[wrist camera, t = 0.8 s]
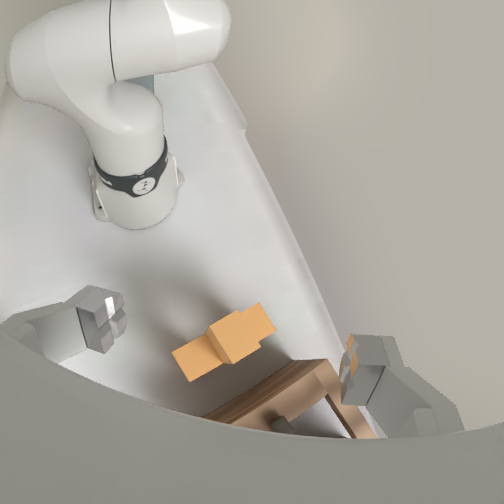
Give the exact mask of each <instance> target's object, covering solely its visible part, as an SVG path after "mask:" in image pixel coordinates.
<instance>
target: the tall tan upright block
mask: <svg viewBox="0 0 504 504" xmlns="http://www.w3.org/2000/svg"><path fill="white" fill-rule="evenodd" d="M275 331H276V329H275V327H274V326H273V324H272V323H271V321H270V319H269V318H268V316H267V315H266V313H265V311H264V310H263V308H262V307H261V305H260V303H257V304H255V305H254V306H252V307H250V308H249V309H247V310H245V311H244V312H242V313H240V312H239V310H236V311H234V312H233V313H231V314H229V315H227V316H226V317H224V318H222V319H220V320H219V321H217V322H215V323H213V324H212V325H210V326H209V327H208V329H207V331H206V333H205V334H204V335H202V336H200V337H198V338H197V339H195V340H193V341H191V342H189V343H188V344H186V345H184V346H182V347H180V348H178V349H177V350H175V351H173V352H172V354H173V356H174V358H175V359H176V361H177V363H178V364H179V366H180V368H181V369H182V371H183V372H184V374H185V376H186V377H187V379H188V380H189V382H191V381H193V380H195V379H197V378H198V377H200V376H202V375H204V374H205V373H207V372H209V371H211V370H212V369H214V368H216V367H218V366H219V365H221V364H223V363H226V364H234V363H236V362H238V361H239V360H241V359H243V358H244V357H246V356H247V355H249V354H251V353H252V352H254V351H255V350H257V349H259V348H260V347H261V346H260V344H259V341H260V340H262V339H264V338H265V337H267V336H268V335H270V334H271V333H273V332H275Z"/></svg>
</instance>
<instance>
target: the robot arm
mask: <svg viewBox="0 0 504 504" xmlns="http://www.w3.org/2000/svg"><path fill="white" fill-rule="evenodd" d="M231 30H232V18H231V13H230V10H229V8H228V5H227V4H226V2H225V1H224V0H85V1H81V2H78V3H74V4H71V5H67V6H64V7H61V8H58V9H55V10H53V11H51V12H49V13H47V14H45V15H44V16H42V17H40V18H38V19H36V20H35V21H33V22H31V23H30V24H28V25H27V26H25V27H24V28H22V29H21V30H19V31H18V32H17V33H16V35H15V36H14V38H13V40H12V42H11V44H10V46H9V48H8V51H7V55H6V61H5V74H6V79H7V82H8V84H9V86H10V88H11V90H12V91H13V92H14V93H15V94H16V95H17V96H18V97H19V98H20V99H22V100H24V101H26V102H34V103H39V104H43V105H47V106H49V107H52V108H54V109H56V110H58V111H60V112H62V113H64V114H65V115H67V116H68V117H69V118H71V119H72V120H73V121H74V122H76V123H77V124H78V125H79V126H80V128H81V129H82V130H83V132H84V133H85V135H86V137H87V139H88V142H89V144H90V146H91V149H92V151H93V154H94V155H93V157H92V158H91V160H90V166H89V167H88V173H89V177H90V178H91V183H92V194H93V203H94V211H95V216H96V218H97V219H99V220H103V221H111V222H114V223H116V224H117V225H119V226H121V227H124V228H128V229H143V228H147V227H150V226H153V225H155V224H157V223H158V222H160V221H161V220H163V219H164V218H165V217H166V216H167V215H168V214H169V212H170V211H171V210H172V208H173V206H174V204H175V200H176V195H177V191H178V189H179V187H180V186H181V185H182V183H183V181H184V176H183V174H182V172H181V171H180V170H179V169H178V168H177V167H176V161H175V157H174V156H172V155H171V154H170V153H169V152H168V145H167V141H166V137H165V135H164V123H163V107H162V104H161V102H160V101H159V99H158V98H157V97H156V96H155V95H154V94H153V93H152V92H151V91H150V90H149V89H147V88H145V87H143V86H141V85H138V84H134V83H130V82H126V81H123V80H127V79H132V78H137V77H143V76H149V75H155V74H162V73H169V72H176V71H179V70H183V69H186V68H190V67H194V66H197V65H201V64H205V63H208V62H212V61H213V60H214V59H215V58H216V57H218V55H219V54H220V53H221V52H222V51H223V49H224V48H225V46H226V44H227V42H228V40H229V37H230V34H231ZM99 207H102V208H101V209H99ZM123 305H124V301H123V296H122V295H121V294H120V293H117V292H113V291H109V290H106V289H102V288H99V287H95V286H91V285H87V286H86V287H85V288H83V289H82V290H80V291H79V292H78V293H76V294H75V295H74V296H72V297H71V298H70V299H68V300H67V301H66V302H64V303H62V302H60V303H56V304H52V305H48V306H44V307H40V308H36V309H33V310H29V311H25V312H21V313H17V314H14V315H12V316H11V317H9V318H8V319H7V320H6V321H4V322H3V323H2V324H0V504H504V422H502V423H498V424H494V425H489V426H485V427H480V428H475V429H470V430H465V429H464V426H463V423H462V421H461V418H460V415H459V413H458V410H457V408H456V405H455V404H454V403H453V402H451V401H450V400H449V399H448V398H446V397H445V396H444V395H443V394H442V393H440V392H439V391H438V390H437V389H435V388H434V387H433V386H432V385H430V384H429V383H428V382H427V381H425V380H424V379H423V378H422V377H420V376H419V375H418V374H417V373H415V372H414V371H413V370H412V369H410V368H409V367H405V366H404V363H403V360H402V358H401V355H400V352H399V349H398V346H397V344H396V341H395V338H394V337H392V336H373V335H360V334H350V336H349V338H348V341H347V350H348V351H346V352H345V353H344V354H343V356H342V359H341V364H340V369H339V379H340V381H341V382H342V383H343V384H342V387H341V389H340V393H341V404H343V405H355V406H366V409H367V410H368V411H369V413H370V414H371V415H372V416H373V418H374V419H375V421H376V422H377V423H378V425H379V426H380V427H381V428H382V430H383V431H384V432H385V434H386V435H387V436H388V438H387V439H386V438H385V439H383V438H382V439H350V438H326V437H312V436H301V435H292V434H284V433H276V432H269V431H263V430H257V429H251V428H245V427H240V426H235V425H230V424H225V423H221V422H216V421H212V420H208V419H204V418H200V417H196V416H192V415H188V414H185V413H181V412H178V411H174V410H171V409H168V408H164V407H161V406H158V405H155V404H152V403H149V402H146V401H143V400H140V399H137V398H135V397H132V396H129V395H126V394H124V393H121V392H119V391H116V390H114V389H111V388H109V387H106V386H104V385H101V384H99V383H97V382H94V381H92V380H90V379H88V378H86V377H83V376H81V375H79V374H77V373H75V372H73V371H71V370H69V369H67V368H65V367H63V366H61V365H59V364H57V363H59V362H61V361H63V360H65V359H67V358H69V357H71V356H73V355H76V354H78V353H80V352H82V351H84V350H86V349H87V348H89V349H92V350H95V351H98V352H101V353H103V354H105V353H106V352H107V351H108V350H109V348H110V347H111V346H112V345H113V344H114V339H115V338H118V337H120V336H121V335H122V334H123V333H124V330H125V327H126V320H127V319H126V314H125V312H124V311H123V310H122V306H123Z"/></svg>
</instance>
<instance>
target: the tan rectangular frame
mask: <svg viewBox="0 0 504 504" xmlns="http://www.w3.org/2000/svg"><path fill="white" fill-rule="evenodd" d="M342 384H343V383H342V382H341V381H340V379H339V376H338V375H337V373H336V372H335V370H334V369H333V367H332V365H331V364H330V362H329V361H328V359H313V360H293V361H292V362H291V363H289V364H288V365H286V366H285V367H283V368H282V369H280V370H279V371H277V372H276V373H274V374H273V375H271V376H270V377H268V378H267V379H265V380H264V381H262V382H261V383H259V384H258V385H256V386H255V387H253V388H251V389H250V390H248V391H247V392H245V393H243V394H242V395H240V396H238V397H237V398H235V399H233V400H232V401H230V402H228V403H227V404H225V405H223V406H222V407H220V408H218V409H216V410H215V411H213V412H211V413H209V414H208V415H206V416H204V417H202V418H204V419H208V420H212V421H216V422H221V423H225V424H230V425H235V426H240V427H245V428H251V429H257V430H263V431H269V432H276V433H284V434H292V435H297V433H296V432H295V431H294V429H293V428H292V426H291V425H290V424H289V422H290V421H292V420H293V419H295V418H296V417H297V416H299V415H300V414H302V413H303V412H304V411H306V410H307V409H308V408H310V407H311V406H312V405H314V404H315V403H316V402H318V401H319V400H320V399H322V398H323V397H325V399H326V400H327V402H328V403H329V405H330V406H331V408H332V409H333V411H334V412H335V414H336V415H337V417H338V418H339V420H340V421H341V423H342V424H343V426H344V427H345V429H346V430H347V432H348V433H349V435H350V436H351V438H352V439H377V437H376V435H375V434H374V432H373V431H372V429H371V427H370V426H369V424H368V423H367V421H366V419H365V418H364V416H363V415H362V413H361V411H360V410H359V408H358V407H357V406H355V405H343V404H341V393H340V389H341V387H342ZM343 438H346V437H343Z"/></svg>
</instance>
